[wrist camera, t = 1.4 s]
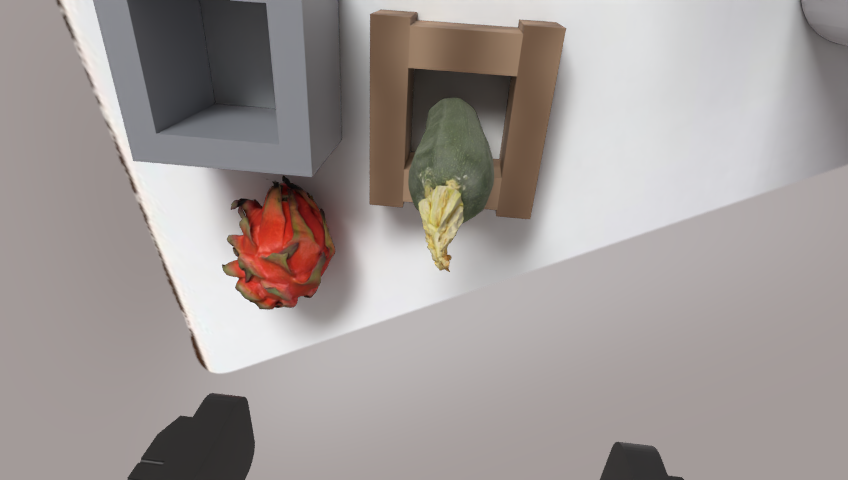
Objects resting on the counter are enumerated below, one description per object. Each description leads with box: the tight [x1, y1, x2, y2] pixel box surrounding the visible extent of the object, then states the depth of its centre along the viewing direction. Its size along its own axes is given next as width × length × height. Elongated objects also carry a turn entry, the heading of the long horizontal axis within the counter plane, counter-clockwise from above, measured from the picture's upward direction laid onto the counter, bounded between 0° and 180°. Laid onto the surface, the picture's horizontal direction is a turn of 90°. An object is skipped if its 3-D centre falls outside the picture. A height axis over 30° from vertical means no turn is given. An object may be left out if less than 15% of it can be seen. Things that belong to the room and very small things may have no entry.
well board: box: [370, 10, 566, 219], centre depth 34 cm, size 12×13×4 cm
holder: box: [93, 0, 342, 177], centre depth 32 cm, size 12×12×8 cm
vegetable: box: [408, 98, 494, 272], centre depth 27 cm, size 4×4×20 cm
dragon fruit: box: [222, 176, 335, 309], centre depth 39 cm, size 8×8×12 cm
